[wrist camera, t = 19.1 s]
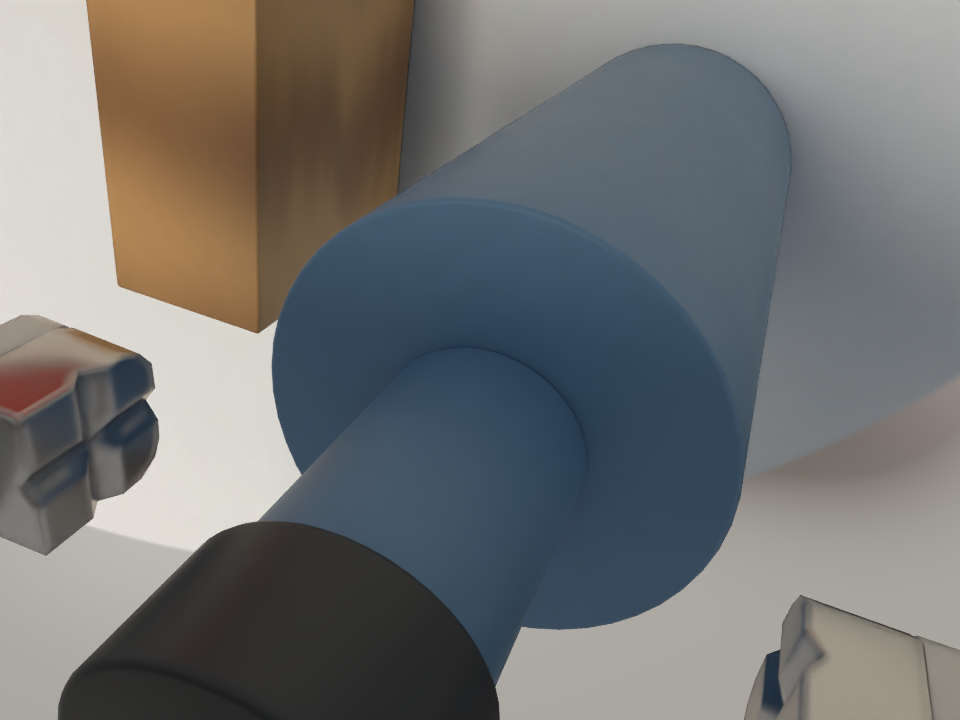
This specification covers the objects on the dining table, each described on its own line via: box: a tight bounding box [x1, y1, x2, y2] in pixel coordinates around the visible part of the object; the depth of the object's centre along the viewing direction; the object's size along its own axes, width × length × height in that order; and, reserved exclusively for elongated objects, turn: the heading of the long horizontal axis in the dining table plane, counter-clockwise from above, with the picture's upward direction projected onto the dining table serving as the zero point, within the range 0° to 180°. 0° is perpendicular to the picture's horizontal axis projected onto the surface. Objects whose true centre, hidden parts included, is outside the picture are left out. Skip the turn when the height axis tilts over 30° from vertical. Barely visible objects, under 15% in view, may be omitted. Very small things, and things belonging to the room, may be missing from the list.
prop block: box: [86, 0, 414, 333], centre depth 20 cm, size 8×4×7 cm, turn 171°
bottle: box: [58, 44, 791, 720], centre depth 13 cm, size 6×13×18 cm, turn 81°
